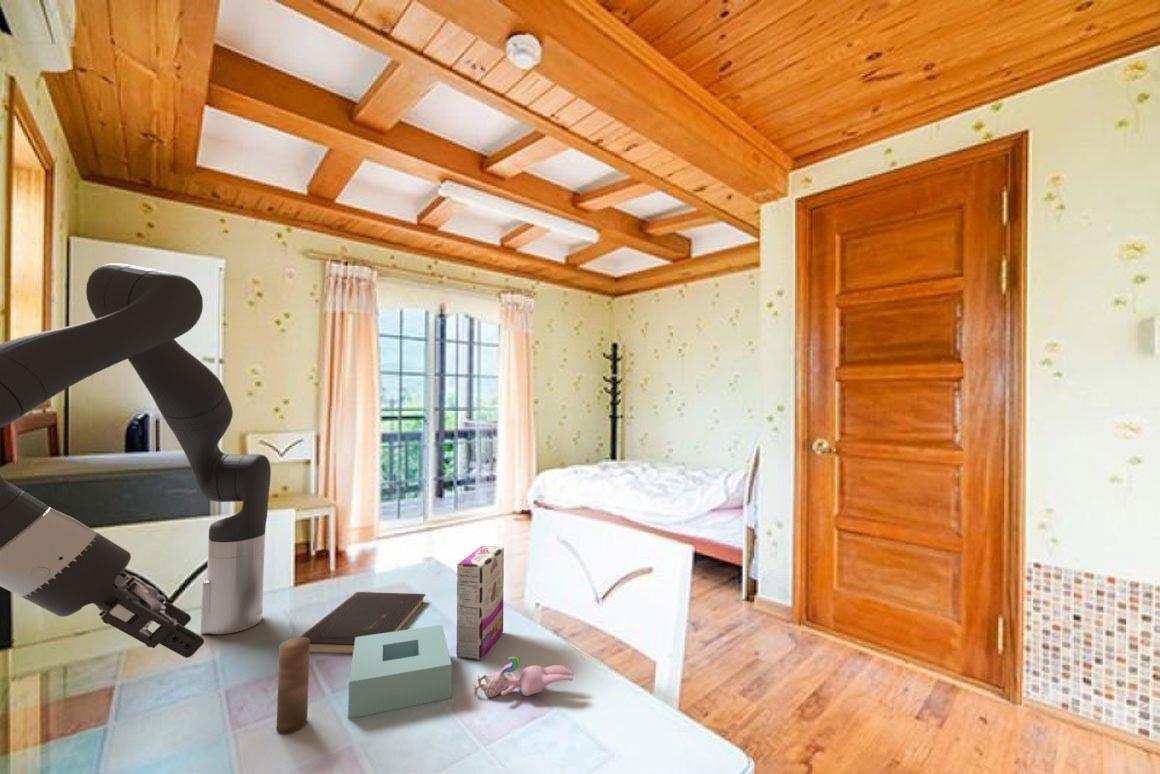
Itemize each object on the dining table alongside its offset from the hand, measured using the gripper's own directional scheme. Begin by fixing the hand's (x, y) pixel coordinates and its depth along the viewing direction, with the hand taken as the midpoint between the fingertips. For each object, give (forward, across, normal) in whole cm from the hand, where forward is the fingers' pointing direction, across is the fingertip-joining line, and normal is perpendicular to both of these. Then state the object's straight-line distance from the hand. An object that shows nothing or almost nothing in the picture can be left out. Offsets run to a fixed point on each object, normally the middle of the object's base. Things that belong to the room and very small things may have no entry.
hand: (190, 636), depth 59 cm
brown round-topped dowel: (+19, 0, +3) cm, 19 cm away
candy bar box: (+42, +1, -19) cm, 46 cm away
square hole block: (+30, 0, -8) cm, 31 cm away
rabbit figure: (+39, -17, -16) cm, 45 cm away
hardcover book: (+34, +24, -11) cm, 43 cm away
